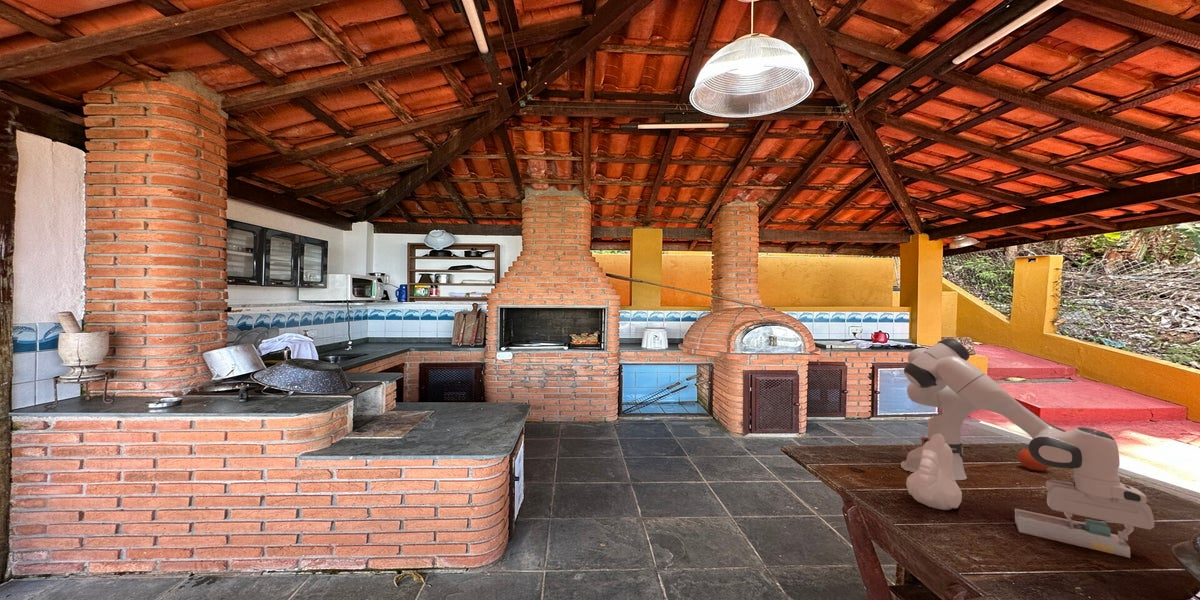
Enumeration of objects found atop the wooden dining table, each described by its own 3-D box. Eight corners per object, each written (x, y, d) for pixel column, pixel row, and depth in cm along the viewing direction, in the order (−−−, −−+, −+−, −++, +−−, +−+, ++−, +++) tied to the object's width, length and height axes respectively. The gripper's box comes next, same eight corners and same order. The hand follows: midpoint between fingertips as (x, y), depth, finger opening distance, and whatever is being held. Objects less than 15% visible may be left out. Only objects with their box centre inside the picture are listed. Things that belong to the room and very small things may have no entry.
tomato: (1017, 469, 185) (1016, 446, 186) (1018, 464, 192) (1018, 441, 193) (1051, 476, 178) (1050, 452, 178) (1051, 470, 185) (1050, 447, 185)
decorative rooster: (921, 490, 163) (920, 426, 164) (972, 507, 149) (971, 436, 150) (886, 504, 151) (884, 435, 152) (938, 524, 137) (936, 447, 138)
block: (1090, 544, 123) (1089, 523, 123) (1086, 539, 126) (1085, 518, 126) (1111, 549, 120) (1110, 528, 120) (1106, 543, 123) (1105, 522, 123)
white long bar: (1019, 535, 130) (1018, 517, 130) (1015, 525, 137) (1014, 508, 137) (1130, 562, 117) (1129, 542, 117) (1120, 549, 123) (1119, 530, 123)
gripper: (1047, 480, 127) (1048, 526, 127) (1156, 499, 115) (1157, 550, 114) (1043, 474, 132) (1044, 518, 132) (1146, 491, 120) (1148, 540, 119)
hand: (1097, 533), depth 123 cm, fingers open, 8 cm apart
